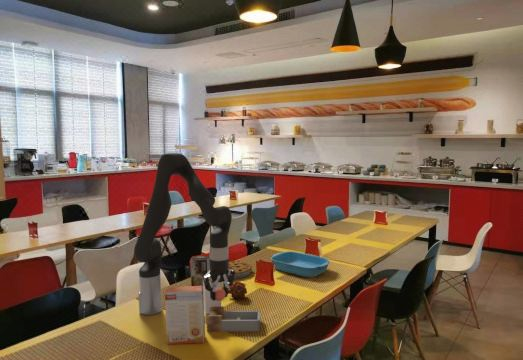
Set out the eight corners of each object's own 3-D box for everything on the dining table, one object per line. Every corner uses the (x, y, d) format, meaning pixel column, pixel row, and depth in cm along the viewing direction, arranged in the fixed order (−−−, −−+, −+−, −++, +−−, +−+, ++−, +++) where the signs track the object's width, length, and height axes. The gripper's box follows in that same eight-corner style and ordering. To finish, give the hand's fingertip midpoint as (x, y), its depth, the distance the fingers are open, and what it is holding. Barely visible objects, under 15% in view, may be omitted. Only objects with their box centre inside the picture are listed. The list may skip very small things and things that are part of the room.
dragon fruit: (243, 305, 189) (230, 300, 199) (254, 291, 193) (241, 287, 203) (233, 293, 186) (220, 289, 196) (244, 279, 190) (231, 276, 200)
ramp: (207, 331, 160) (206, 316, 160) (210, 321, 169) (209, 306, 169) (223, 331, 160) (223, 316, 160) (226, 320, 169) (225, 306, 169)
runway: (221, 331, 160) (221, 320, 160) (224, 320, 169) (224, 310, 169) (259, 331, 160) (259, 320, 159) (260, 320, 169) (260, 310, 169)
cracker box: (205, 335, 157) (203, 285, 155) (203, 343, 151) (202, 290, 149) (169, 336, 156) (167, 285, 154) (166, 344, 150) (164, 291, 148)
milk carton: (205, 314, 176) (204, 273, 173) (203, 308, 182) (202, 268, 180) (221, 312, 177) (220, 271, 175) (219, 306, 184) (217, 266, 182)
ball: (217, 304, 154) (217, 291, 154) (210, 299, 158) (210, 287, 158) (228, 300, 157) (227, 288, 157) (221, 296, 161) (221, 284, 161)
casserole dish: (263, 268, 237) (263, 257, 237) (286, 259, 254) (286, 248, 253) (315, 282, 213) (315, 269, 213) (336, 271, 230) (336, 259, 229)
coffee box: (211, 285, 211) (210, 256, 209) (208, 290, 204) (207, 259, 203) (194, 285, 212) (193, 255, 210) (190, 289, 205) (189, 259, 203)
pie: (209, 271, 234) (209, 262, 234) (243, 265, 244) (243, 257, 243) (221, 282, 215) (221, 274, 214) (258, 276, 224) (258, 267, 223)
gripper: (207, 263, 148) (208, 306, 151) (239, 255, 157) (239, 296, 159) (198, 258, 154) (198, 299, 156) (229, 251, 163) (229, 290, 165)
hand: (219, 298), depth 158 cm, fingers closed on ball, 5 cm apart
